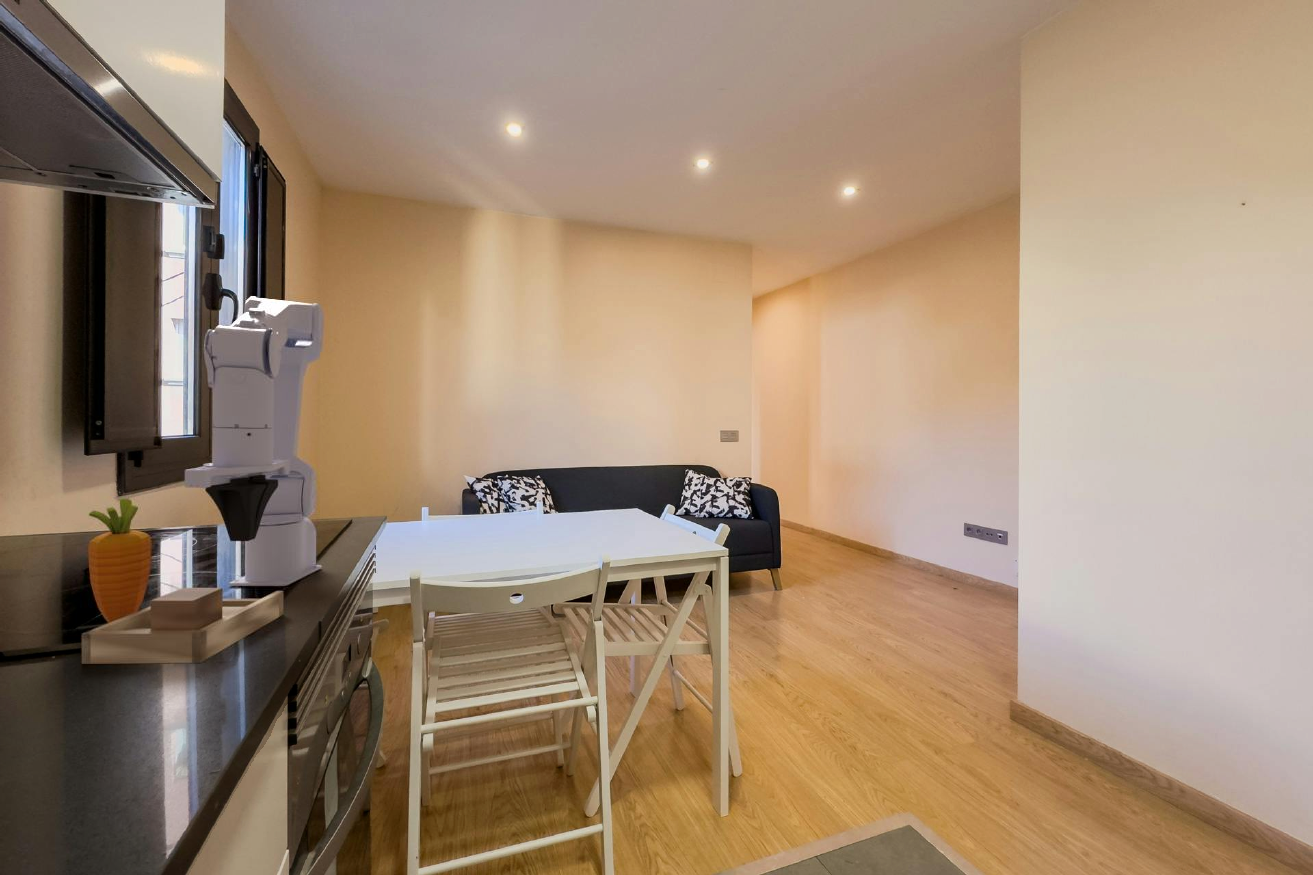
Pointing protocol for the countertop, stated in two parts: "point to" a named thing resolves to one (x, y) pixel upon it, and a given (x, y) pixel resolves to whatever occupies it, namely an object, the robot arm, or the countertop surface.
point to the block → (187, 609)
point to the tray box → (177, 635)
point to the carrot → (119, 563)
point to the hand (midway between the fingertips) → (242, 539)
